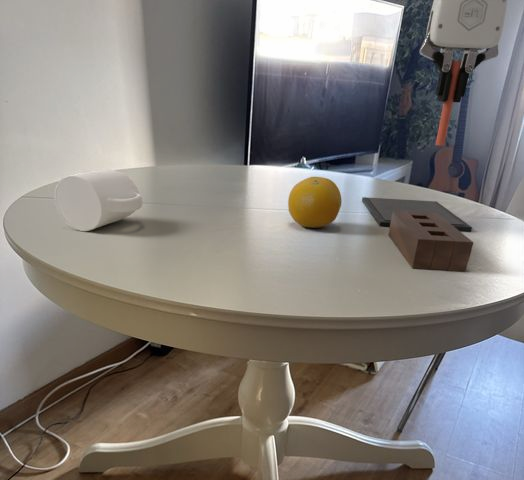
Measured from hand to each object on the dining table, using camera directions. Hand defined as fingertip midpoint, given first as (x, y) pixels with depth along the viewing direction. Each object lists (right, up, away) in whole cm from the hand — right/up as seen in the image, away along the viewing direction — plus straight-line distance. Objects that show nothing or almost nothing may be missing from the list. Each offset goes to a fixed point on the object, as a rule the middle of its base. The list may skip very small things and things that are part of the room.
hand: (448, 101), depth 76 cm
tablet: (-1, -13, +17) cm, 22 cm away
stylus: (0, -6, +3) cm, 7 cm away
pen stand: (-6, -25, -5) cm, 26 cm away
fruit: (-21, -19, +5) cm, 29 cm away
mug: (-54, -20, -1) cm, 58 cm away
